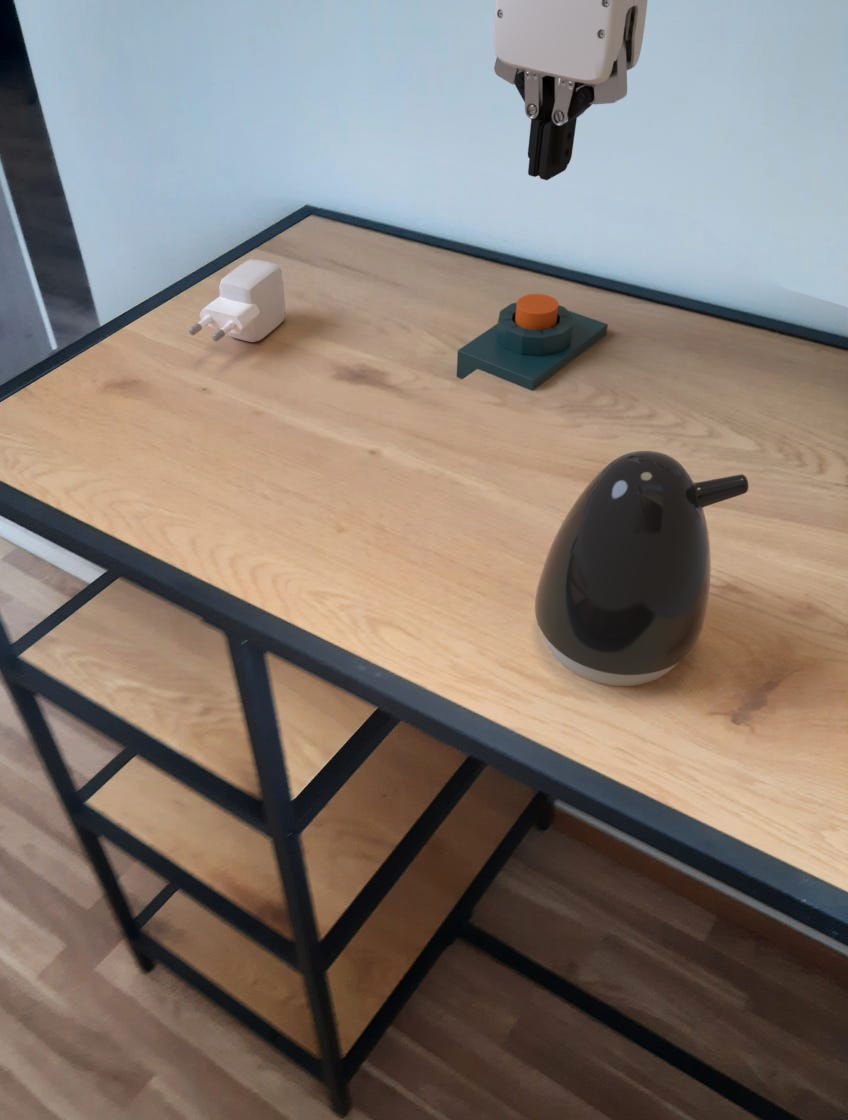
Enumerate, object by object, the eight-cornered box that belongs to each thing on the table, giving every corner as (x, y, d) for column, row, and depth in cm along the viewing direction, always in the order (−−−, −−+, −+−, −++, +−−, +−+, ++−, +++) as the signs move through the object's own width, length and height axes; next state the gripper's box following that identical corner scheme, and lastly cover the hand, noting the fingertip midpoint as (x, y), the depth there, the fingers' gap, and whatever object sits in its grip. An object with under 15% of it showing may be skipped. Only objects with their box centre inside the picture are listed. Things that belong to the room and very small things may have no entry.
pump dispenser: (701, 719, 57) (772, 527, 46) (529, 707, 58) (558, 516, 47) (682, 602, 64) (740, 410, 53) (528, 593, 65) (553, 403, 54)
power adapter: (229, 375, 86) (220, 315, 81) (186, 363, 87) (175, 304, 83) (293, 320, 92) (288, 262, 88) (252, 310, 94) (245, 253, 90)
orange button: (530, 308, 84) (532, 289, 83) (564, 320, 83) (566, 301, 81) (506, 324, 82) (508, 305, 81) (541, 336, 81) (543, 317, 80)
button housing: (531, 324, 90) (536, 279, 87) (603, 351, 87) (611, 305, 83) (456, 377, 84) (458, 331, 81) (530, 408, 81) (535, 361, 77)
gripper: (718, -124, 59) (656, 181, 72) (519, -145, 65) (497, 137, 79) (659, -106, 55) (605, 213, 68) (454, -131, 61) (442, 164, 75)
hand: (547, 172), depth 73 cm, fingers closed
